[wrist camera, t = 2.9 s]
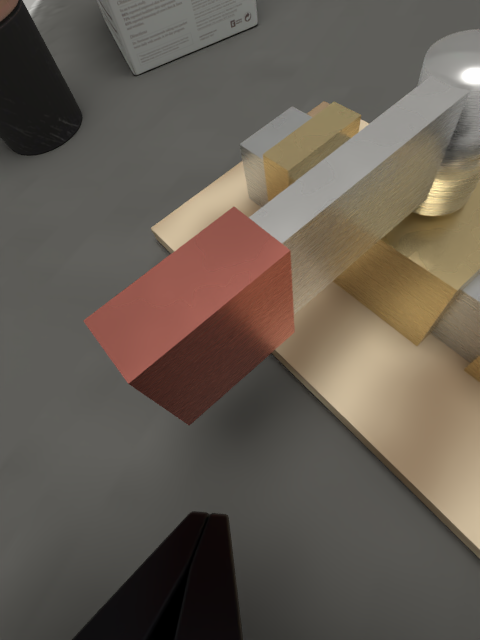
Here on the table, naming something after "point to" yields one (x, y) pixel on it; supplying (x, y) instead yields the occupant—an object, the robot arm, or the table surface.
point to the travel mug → (31, 87)
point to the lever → (295, 242)
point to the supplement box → (172, 27)
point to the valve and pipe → (384, 238)
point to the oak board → (372, 377)
